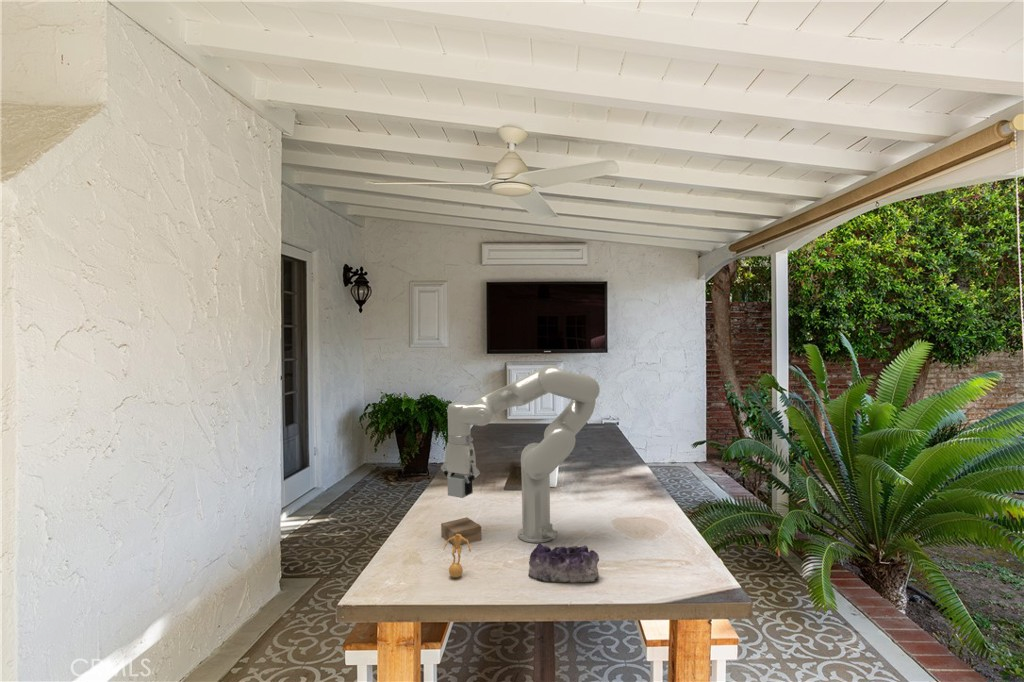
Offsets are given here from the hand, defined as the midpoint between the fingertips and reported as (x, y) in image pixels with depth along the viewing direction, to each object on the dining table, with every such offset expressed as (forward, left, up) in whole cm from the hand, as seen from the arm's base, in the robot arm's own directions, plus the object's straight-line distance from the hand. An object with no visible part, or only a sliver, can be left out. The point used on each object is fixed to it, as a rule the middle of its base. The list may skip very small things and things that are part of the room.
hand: (460, 491), depth 190 cm
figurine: (-20, +18, -16) cm, 31 cm away
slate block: (0, 0, -1) cm, 1 cm away
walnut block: (0, 0, -16) cm, 16 cm away
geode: (-43, -3, -16) cm, 46 cm away
